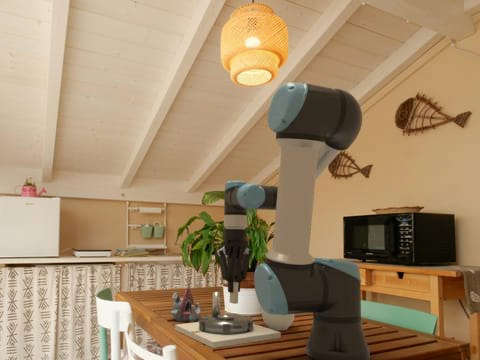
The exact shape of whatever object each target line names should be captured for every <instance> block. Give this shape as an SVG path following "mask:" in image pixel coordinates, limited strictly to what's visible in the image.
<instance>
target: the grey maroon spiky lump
mask: <svg viewBox="0 0 480 360" xmlns="http://www.w3.org/2000/svg"><path fill="white" fill-rule="evenodd" d="M171 298H172V299H173V303H172V309H173V310H170V311H168V313H169V314H170V315H171V316H172V318H174V319H175V321H176V322H181V323H182V322H183V323H184V322H188V323H194V322H196V321H199V318H200V317H201V316H202V310H201V307H200V306H201V305H200V303H199V302H196V303H195V304H194V302H195V300H194V297H193V294H192V292H191V289H190V286H186V289H185V291H184V294H183V297H180V292H179V291H176V292H175V291H174V292H173V295H171Z"/></svg>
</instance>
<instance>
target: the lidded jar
mask: <svg viewBox="0 0 480 360" xmlns="http://www.w3.org/2000/svg"><path fill="white" fill-rule="evenodd" d="M295 315H296V314H288V315H272V314H268V313H267V312H265V311H264V310H263V308H262V307H261V317H262V319H263V323H264V324H265V325H266V327H267V328H269V329H272V330H275V331H278V332H280V331H288V329H289V328H290V327H291V325H292V324H293V323H294V319H295Z"/></svg>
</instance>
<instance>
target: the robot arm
mask: <svg viewBox="0 0 480 360" xmlns="http://www.w3.org/2000/svg"><path fill="white" fill-rule="evenodd" d="M267 123H268V127H269V129H270V130H271V131H272V132H274V133H275V142H277V144H278V145H279V146H280V147H279V148H281V149H280V158H279V159H280V161H279V170H278V171H279V173H278V182H277V183H278V184H277V185H262V184H261V185H260V184H257V183H248V182H246V181H243V180H228V181H226V182H225V183H224V184H225V185H224V191H223V195H224V197H223V198H224V201H223V204H224V207H223V209H224V210H223V214H224V215H223V227H224V229H223V244H222V247H221V248H219V249H217V250H215V253H216V255H217V257H218V261H219V267H220V272H221V277H222V280H223V281H225V282H227V291H228V293H229V303H230V304H238V303H239V293H240V291H241V283H242V282H243V280H244V281H245V280H246V279H247V273H248V271H249V270H248V269H249V264H250V259H251V257H252V255H253V252H254V251H253V250H252V249H250V248H248V247H247V246H248V245H247V242H246V241H247V238H248V237H247V235H248V234H247V233H248V231H247V229H246V228H248V210H262V211H263V210H266V211H270V210H271V211H275V219H274V228H273V239H272V248H271V249H270V250H269V251H268V252H266V253H265V258H264V259H265V260H264V262H263V263H259V264H258V265H257V266H256V267H255V271H254V277H253V279H254V280H253V284H254V290H255V296H256V298H257V301H258V303H259V305H260V307H261V309H262V308H263V310H264V311H265V312H267V313H268V314H272V315H288V314H295V315H300V314H312V325H311V327H310V332H309V336H308V340H307V341H306V344H305V347H306V349H305V353H306V356H307V357H309V358H311V359H313V360H370V359H371V355H370V352H371V351H370V347H369V344H368V343H367V340H366V334H365V331H364V329H363V325H362V303H361V301H362V300H361V299H362V297H361V296H362V295H361V293H362V292H361V283H362V279H361V272H360V267H359V265H358V264H357V263H356V262H351V261H347V260H339V259H338V260H337V259H332V258H322V257H313V256H312V254H311V252H310V245H311V244H310V243H311V233H312V232H311V231H312V224H313V223H312V222H313V221H312V220H313V209H314V200H315V188H316V180H317V179H319V177H320V176H321V174H322V173H323V172H324V171H325V170H326V168H328V167H329V166H330V164H331V163H332V161H333V160H335V158H336V157H337V156H338V155H339V153H340V152H344V151H347V150H348V149H349V148H350V147H351V146H352V145H353V144H354V143H355V141H356V139H357V138H358V136H359V133H360V131H361V128H362V125H363V112H362V108H361V105H360V104H359V102H358V100H357V99H356V98H355V96H354V95H352V94H351V93H350V92H348V91H347V90H343V89H340V88H332V87H326V86H321V85H315V84H311V83H305V82H293V81H291V82H290V81H287V82H285V83H284V84H282V85H281V86H279V88H278V89H277V90H276V92H275V94H273V97H272V99H271V102H270V104H269V108H268V112H267Z"/></svg>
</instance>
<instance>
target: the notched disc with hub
mask: <svg viewBox="0 0 480 360" xmlns="http://www.w3.org/2000/svg"><path fill="white" fill-rule="evenodd" d="M211 305H212V306H211V307H212V309H211V314H208V315H201V316H200V317H199V319H198V322H199V330H201V331H206V332H210V333H220V334H234V333H243V332H247V331H251V330H253V324H254V319H253V318H252V316H249V315H243V314H236V313H235V314H234V313H230V312H229V313H228V312H227V313H226V312H221V292H220V291H212V304H211Z"/></svg>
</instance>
